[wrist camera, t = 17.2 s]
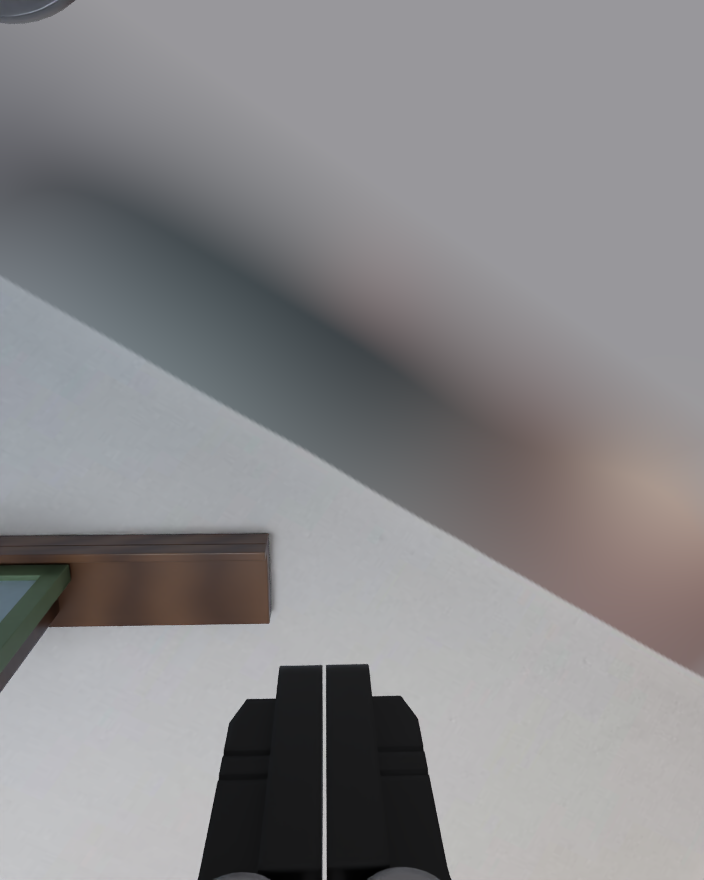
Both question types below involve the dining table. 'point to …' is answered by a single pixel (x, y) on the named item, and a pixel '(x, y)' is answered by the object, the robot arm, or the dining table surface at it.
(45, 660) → the dining table surface
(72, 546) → the window frame
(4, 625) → the sliding pane
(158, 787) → the dining table surface
